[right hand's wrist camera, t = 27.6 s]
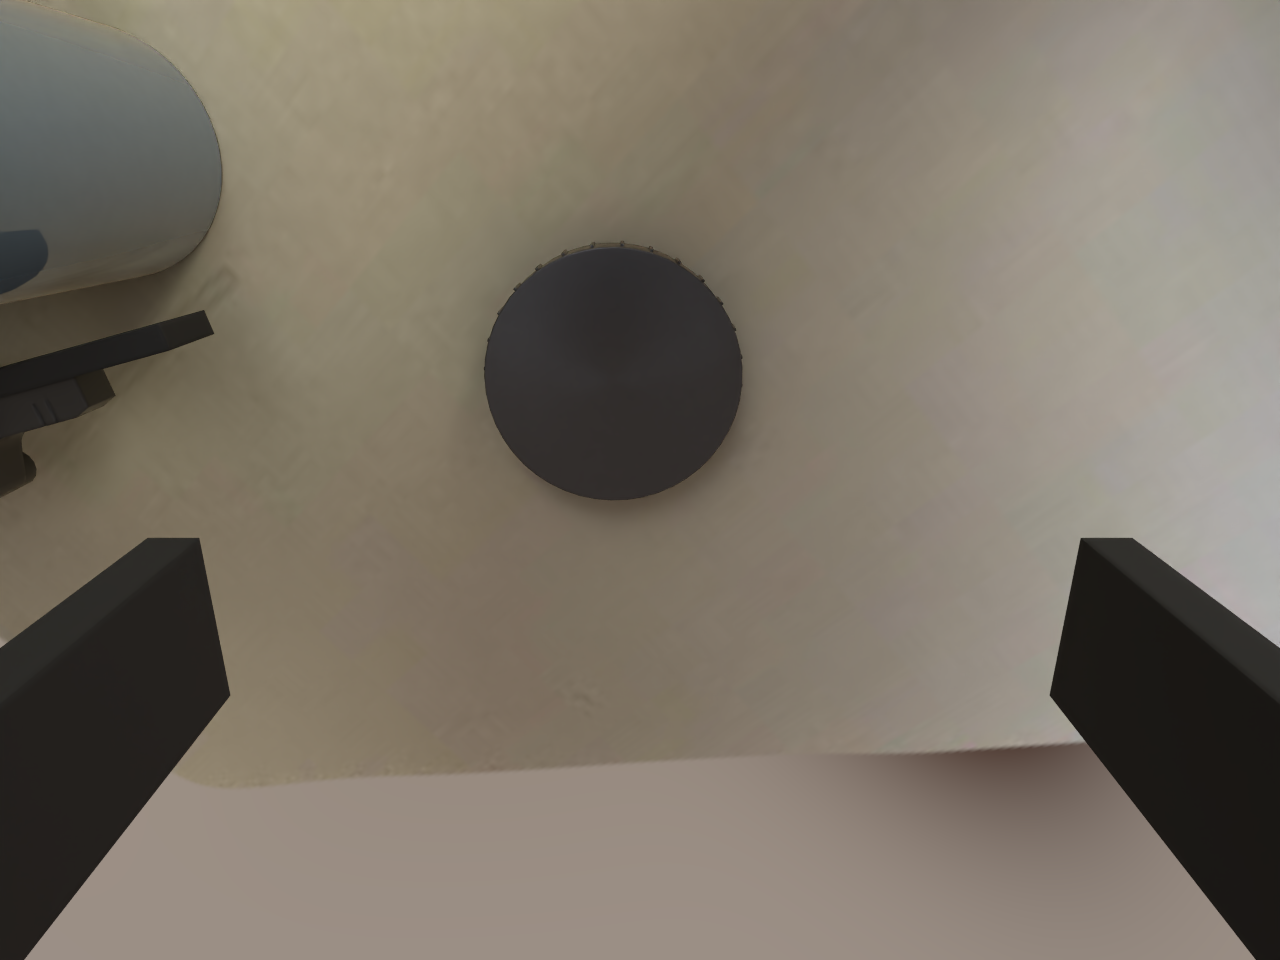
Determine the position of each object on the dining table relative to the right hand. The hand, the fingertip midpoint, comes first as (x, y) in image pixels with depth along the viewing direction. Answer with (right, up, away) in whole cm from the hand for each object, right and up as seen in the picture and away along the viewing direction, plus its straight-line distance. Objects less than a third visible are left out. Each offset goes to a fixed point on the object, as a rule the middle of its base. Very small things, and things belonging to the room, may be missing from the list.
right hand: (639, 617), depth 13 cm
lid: (-1, +6, +18) cm, 19 cm away
